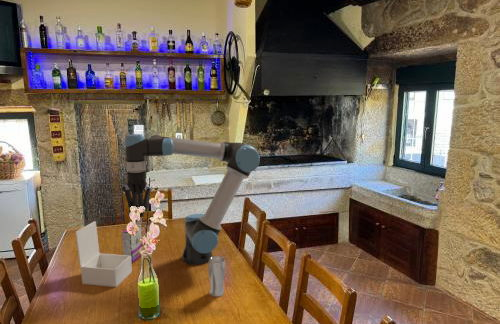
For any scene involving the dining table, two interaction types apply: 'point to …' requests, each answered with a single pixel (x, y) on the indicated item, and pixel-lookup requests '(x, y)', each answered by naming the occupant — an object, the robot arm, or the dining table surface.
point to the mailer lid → (87, 243)
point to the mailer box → (106, 270)
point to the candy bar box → (132, 244)
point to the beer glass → (216, 275)
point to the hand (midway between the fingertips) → (139, 223)
